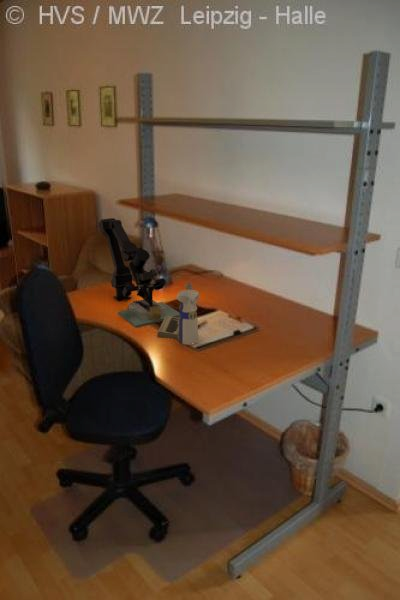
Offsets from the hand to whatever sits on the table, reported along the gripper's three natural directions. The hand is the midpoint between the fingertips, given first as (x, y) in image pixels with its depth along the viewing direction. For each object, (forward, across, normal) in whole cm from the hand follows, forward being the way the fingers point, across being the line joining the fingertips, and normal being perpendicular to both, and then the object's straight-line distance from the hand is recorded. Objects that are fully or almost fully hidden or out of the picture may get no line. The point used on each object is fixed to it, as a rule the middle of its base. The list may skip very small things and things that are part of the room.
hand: (151, 304), depth 198 cm
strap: (-2, 0, +4) cm, 5 cm away
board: (+2, +1, +8) cm, 8 cm away
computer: (+15, +1, -5) cm, 16 cm away
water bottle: (+24, +2, -14) cm, 28 cm away
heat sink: (+1, 0, +7) cm, 7 cm away
